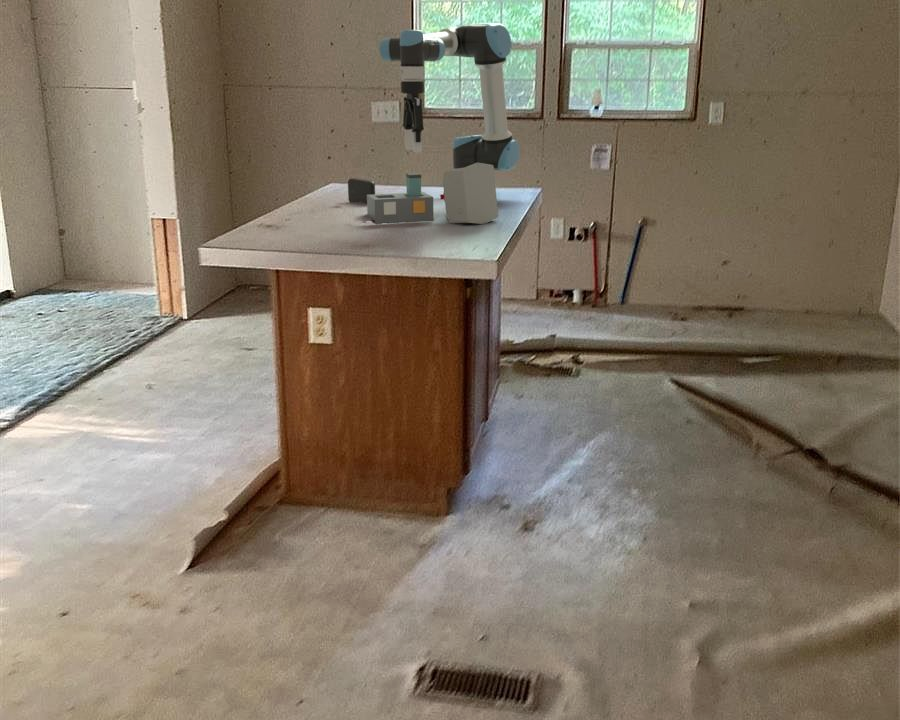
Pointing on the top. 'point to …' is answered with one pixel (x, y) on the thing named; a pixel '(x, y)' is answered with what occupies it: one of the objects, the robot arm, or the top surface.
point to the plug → (413, 184)
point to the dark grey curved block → (360, 189)
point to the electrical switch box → (470, 194)
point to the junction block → (399, 208)
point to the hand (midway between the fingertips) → (413, 150)
